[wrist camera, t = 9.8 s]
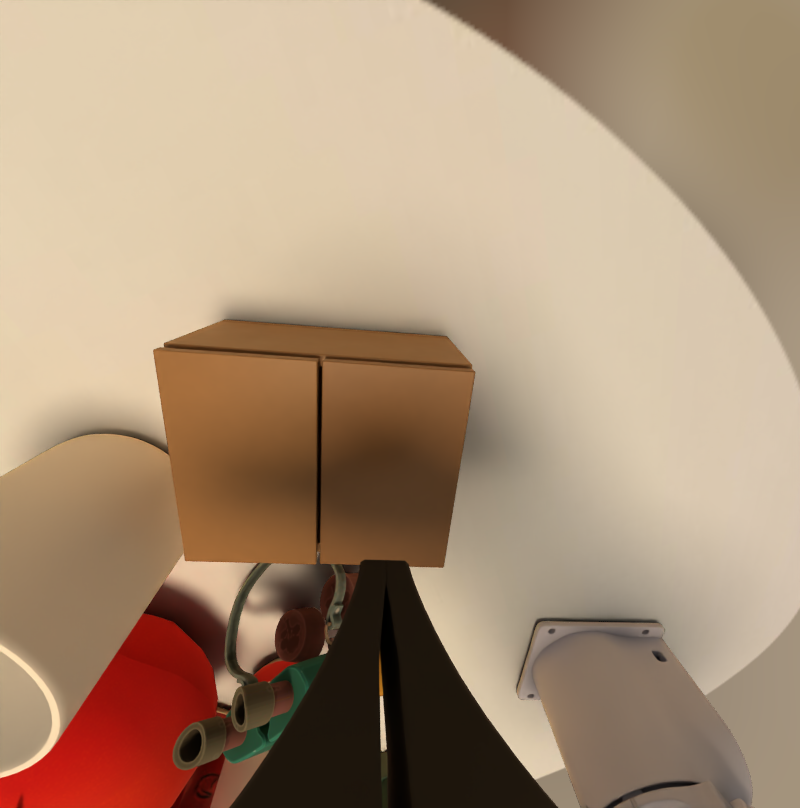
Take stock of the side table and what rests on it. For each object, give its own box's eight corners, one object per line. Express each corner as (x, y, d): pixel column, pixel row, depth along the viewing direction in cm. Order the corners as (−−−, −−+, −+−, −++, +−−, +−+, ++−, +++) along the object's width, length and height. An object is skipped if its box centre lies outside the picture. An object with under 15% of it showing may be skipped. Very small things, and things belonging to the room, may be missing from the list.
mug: (-32, 509, 21) (-400, 734, 11) (122, 398, 19) (-154, 548, 9) (92, 600, 24) (-113, 845, 14) (237, 511, 22) (120, 719, 12)
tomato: (40, 557, 23) (-208, 775, 13) (253, 596, 25) (173, 810, 15) (41, 678, 26) (-151, 917, 17) (226, 704, 28) (149, 930, 19)
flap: (473, 368, 14) (475, 371, 13) (442, 561, 17) (443, 568, 16) (323, 358, 13) (322, 360, 13) (321, 557, 16) (319, 563, 16)
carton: (447, 336, 19) (478, 370, 13) (427, 487, 22) (445, 568, 16) (224, 319, 18) (149, 348, 12) (236, 478, 21) (183, 562, 15)
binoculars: (274, 596, 27) (310, 770, 21) (140, 600, 20) (136, 860, 14) (364, 522, 25) (433, 690, 19) (251, 499, 19) (302, 748, 12)
